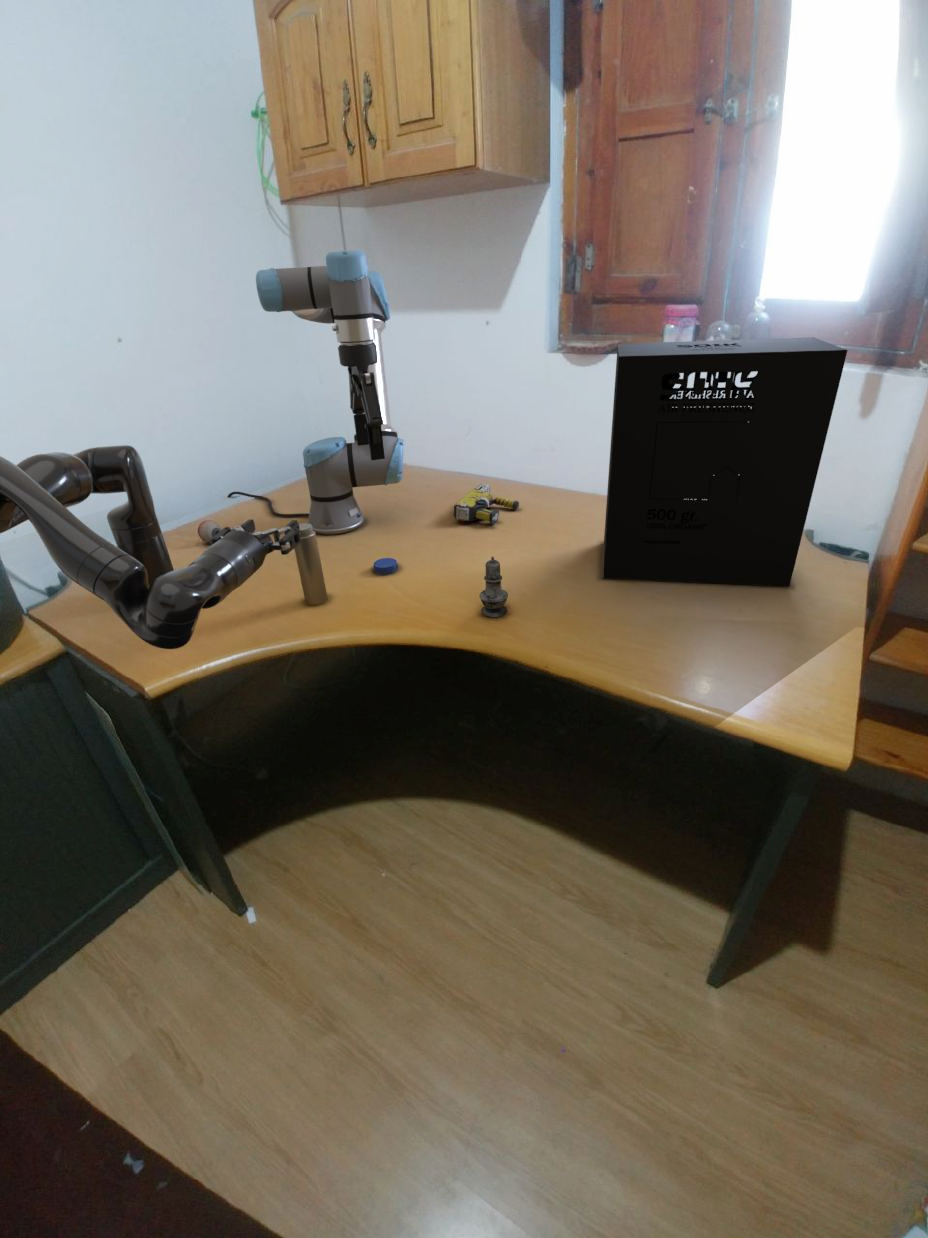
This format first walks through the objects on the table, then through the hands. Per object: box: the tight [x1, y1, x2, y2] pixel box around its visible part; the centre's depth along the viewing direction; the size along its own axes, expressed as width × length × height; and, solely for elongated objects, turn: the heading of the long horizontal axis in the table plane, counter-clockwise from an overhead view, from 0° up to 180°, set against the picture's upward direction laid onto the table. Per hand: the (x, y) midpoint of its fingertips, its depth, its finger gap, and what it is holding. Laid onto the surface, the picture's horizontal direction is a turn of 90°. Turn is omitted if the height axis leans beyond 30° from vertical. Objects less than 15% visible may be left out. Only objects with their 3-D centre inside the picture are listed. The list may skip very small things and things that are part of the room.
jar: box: [293, 522, 329, 607], centre depth 126 cm, size 5×5×17 cm
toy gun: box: [452, 482, 520, 526], centre depth 172 cm, size 5×24×15 cm
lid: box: [373, 557, 399, 576], centre depth 142 cm, size 6×6×2 cm
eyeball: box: [197, 519, 223, 544], centre depth 161 cm, size 6×6×6 cm
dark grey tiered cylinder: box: [478, 555, 509, 618], centre depth 119 cm, size 6×6×12 cm
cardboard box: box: [602, 336, 849, 588], centre depth 126 cm, size 38×20×45 cm, turn 78°
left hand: (274, 524), depth 111 cm, fingers open, 8 cm apart
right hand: (370, 451), depth 129 cm, fingers open, 13 cm apart
